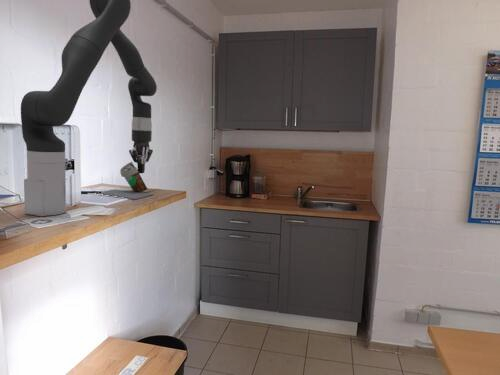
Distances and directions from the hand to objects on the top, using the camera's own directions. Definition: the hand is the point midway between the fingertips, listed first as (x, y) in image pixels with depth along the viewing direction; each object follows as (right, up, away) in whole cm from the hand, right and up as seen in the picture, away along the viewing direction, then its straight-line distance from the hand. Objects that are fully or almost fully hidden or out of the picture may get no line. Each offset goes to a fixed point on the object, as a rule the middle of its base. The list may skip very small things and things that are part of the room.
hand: (141, 173), depth 144 cm
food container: (-1, -7, 0) cm, 7 cm away
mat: (-4, -9, -9) cm, 13 cm away
